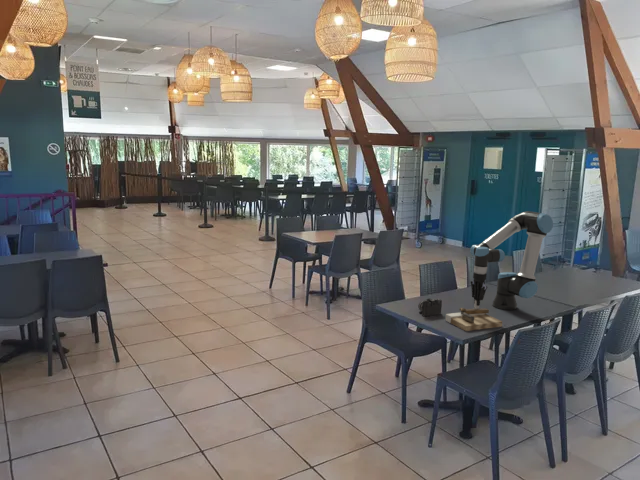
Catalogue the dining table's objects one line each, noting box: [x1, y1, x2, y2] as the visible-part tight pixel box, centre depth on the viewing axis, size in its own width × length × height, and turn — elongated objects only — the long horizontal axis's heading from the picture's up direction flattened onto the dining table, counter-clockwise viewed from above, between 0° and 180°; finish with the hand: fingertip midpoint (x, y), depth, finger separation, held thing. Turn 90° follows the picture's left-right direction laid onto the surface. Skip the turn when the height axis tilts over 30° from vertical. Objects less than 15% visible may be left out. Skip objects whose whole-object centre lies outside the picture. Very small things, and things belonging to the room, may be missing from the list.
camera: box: [418, 297, 443, 317], centre depth 316 cm, size 14×11×10 cm
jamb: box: [445, 311, 487, 324], centre depth 306 cm, size 26×5×6 cm, turn 112°
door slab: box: [450, 313, 503, 332], centre depth 298 cm, size 26×14×3 cm, turn 112°
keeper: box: [462, 313, 474, 323], centre depth 295 cm, size 2×8×4 cm, turn 22°
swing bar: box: [459, 307, 490, 314], centre depth 306 cm, size 18×4×3 cm, turn 102°
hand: (476, 310), depth 309 cm, fingers closed
